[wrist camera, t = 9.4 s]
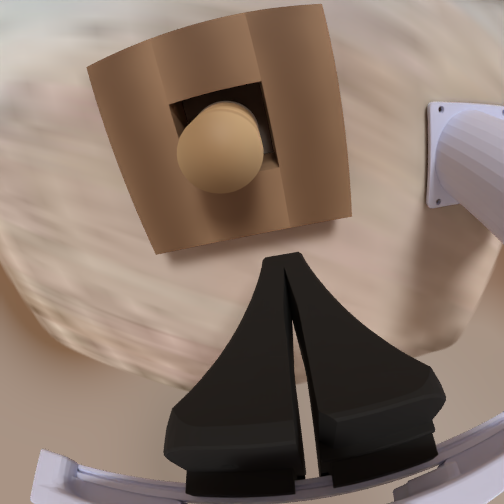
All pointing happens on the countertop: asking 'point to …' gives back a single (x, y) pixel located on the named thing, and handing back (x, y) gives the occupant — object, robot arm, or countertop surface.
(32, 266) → the countertop surface
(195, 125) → the peg
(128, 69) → the walnut block
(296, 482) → the robot arm
